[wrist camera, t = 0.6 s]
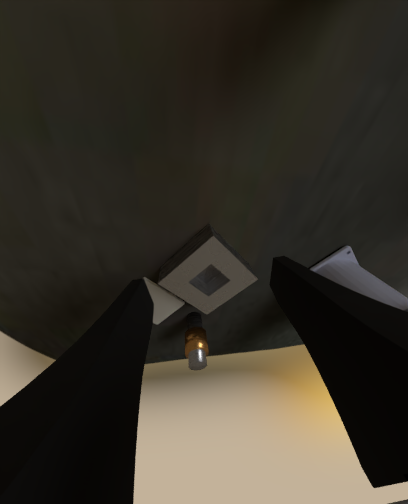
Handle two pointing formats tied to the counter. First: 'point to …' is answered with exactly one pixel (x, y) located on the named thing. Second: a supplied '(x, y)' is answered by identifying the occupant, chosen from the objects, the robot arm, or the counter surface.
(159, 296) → the mat
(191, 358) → the amber medicine bottle
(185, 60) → the counter surface
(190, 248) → the block
